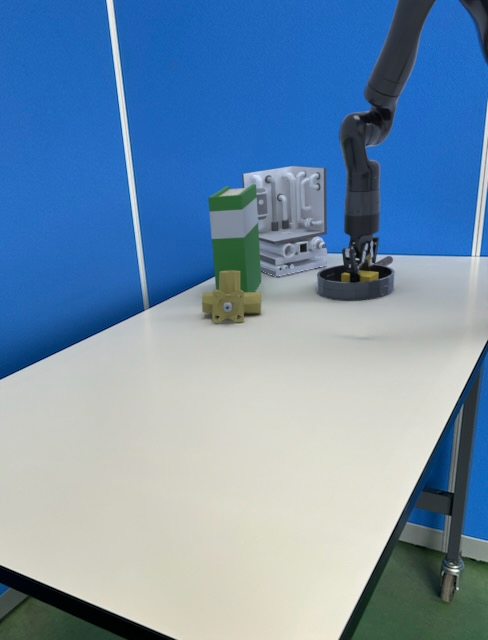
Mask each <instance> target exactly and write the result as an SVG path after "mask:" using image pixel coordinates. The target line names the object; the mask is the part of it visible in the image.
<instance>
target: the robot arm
mask: <svg viewBox="0 0 488 640" xmlns="http://www.w3.org/2000/svg"><path fill="white" fill-rule="evenodd" d="M457 1H458V2H459V3H460V4H461V6H462V7H463V8H464V10H465V11H466V12H467V14H468V16H469V17H470V19H471V21H472V23H473V26H474V29H475V32H476V35H477V36H476V38H477V41H478V45H479V49H480V53H481V56H482V58H483V60H484V62H485V64H486V66H487V67H488V0H457ZM436 2H437V0H397V3H396V6H395V9H394V11H393V12H394V13H393V14H392V15H393V16H392V19H391V23H390V24H389V28H388V31H387V34H386V37H385V40H384V42H383V45H382V47H381V50H380V52H379V55H378V57H377V59H376V61H375V63H374V66H373V67H372V70H371V72H370V74H369V77H368V79H367V81H366V84H365V87H364V89H363V97H364V99H365V101H366V102H367V103H368V104H369V105H370V107H369V109H368V110H363V111H356V112H350V113H348V114H347V115H345V117H344V118H343V119H342V121H341V122H340V126H339V130H338V142H339V147H340V151H341V155H342V159H343V162H344V163H343V164H344V166H345V167H344V168H345V172H346V174H345V175H346V176H345V177H346V178H345V185H346V186H345V196H344V210H343V211H344V214H343V215H344V216H343V217H344V218H343V221H344V222H343V226H344V227H343V232H344V234H345V235H347V236H349V242H348V246H347V247H343V248H342V249H341V255H342V262H343V265H344V271H345V273H349V274H350V282H360V272H361V270H362V271H370V268H372V264H374V263H376V262H377V256H378V250H379V243H380V237H379V236H374V235H376V234H377V233H379V231H380V222H381V221H380V219H381V218H380V217H381V191H380V190H381V189H380V188H381V187H380V186H381V164H380V162H379V161H378V160H377V159H372V158H369V156H368V153H367V148H371V147H377V146H379V145H381V144H382V143H384V141H386V139H387V138H388V136H389V135H390V133H391V131H392V128H393V125H394V120H395V115H396V111H397V107H398V102H399V99H400V97H401V96H402V93H403V91H404V89H405V87H406V85H407V83H408V80H410V79H409V78H410V77H411V75H412V72H413V70H414V67H415V64H416V61H417V56H418V52H419V47H420V41H421V40H420V39H421V35H422V32H423V29H424V26H425V23H426V20H427V18H428V16H429V15H430V13H431V10H432V9H433V7H434V6H435V4H436ZM348 264H349V266H348ZM356 264H357V266H356ZM361 267H362V268H361Z"/></svg>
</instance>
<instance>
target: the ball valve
mask: <svg viewBox="0 0 488 640" xmlns="http://www.w3.org/2000/svg"><path fill="white" fill-rule="evenodd" d="M201 298H202V300H201V307H202V309H201V310H202V313H203V314H212V317H211V318H212V322H214V323H215V324H219V323H221V322H222V321H223V320H226V319H229V320H230V321H233V322H235V323H244V320H245V314H258V315H259V314H262V291H255V292H245V293H244V292H243V291H242V290H240V271H235V270H233V271H220V272H219V290H218V289H216V288H215V289H214V290H213V291H208V292H202V297H201ZM238 316H240V318H238Z"/></svg>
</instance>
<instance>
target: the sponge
mask: <svg viewBox="0 0 488 640" xmlns="http://www.w3.org/2000/svg"><path fill="white" fill-rule="evenodd" d="M378 275H379V272H372V271H362V270H361V272H360V282H367V281H373V280H378ZM341 282H350V274H349V273H343V274H342V275H341Z"/></svg>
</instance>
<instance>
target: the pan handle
mask: <svg viewBox="0 0 488 640" xmlns="http://www.w3.org/2000/svg"><path fill="white" fill-rule="evenodd" d="M393 262H394V258H393V257H392V256H391V255H388V256H385V257H383V258H382V259H380V260H378V261H376V262H375V263H373V264H378V265H383V266H387V267H388V266H390V265H391V264H392V263H393Z"/></svg>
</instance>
